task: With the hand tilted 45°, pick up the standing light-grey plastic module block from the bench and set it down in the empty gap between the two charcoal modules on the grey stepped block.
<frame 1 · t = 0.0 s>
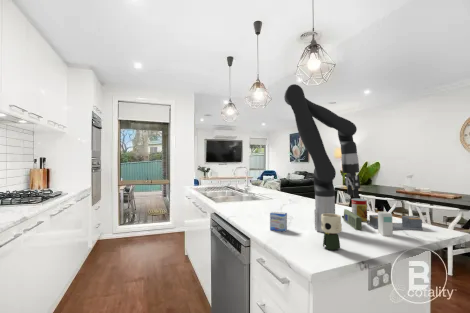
hand: (353, 196, 114), 17 cm above the counter, tool pointing down, fingers open, 8 cm apart
grey stepped block: (393, 226, 121), on the counter
medicine box: (278, 230, 117), on the counter
canned food: (359, 220, 135), on the counter
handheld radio: (350, 224, 128), on the counter
character mug: (331, 248, 92), on the counter
module: (385, 234, 109), on the counter
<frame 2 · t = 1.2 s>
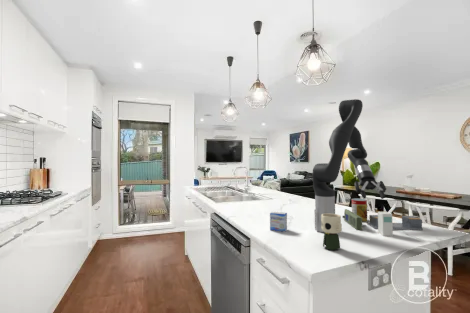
hand: (374, 197, 120), 15 cm above the counter, tool tilted 45°, fingers open, 8 cm apart
nothing on the counter moved.
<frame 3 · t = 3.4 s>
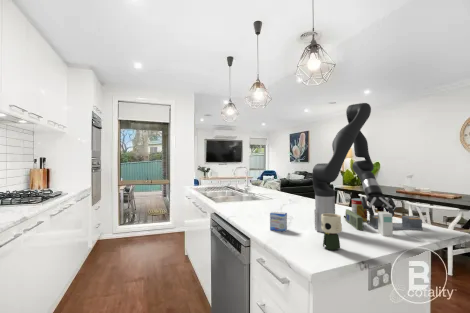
hand: (382, 215, 111), 8 cm above the counter, tool tilted 45°, fingers open, 8 cm apart
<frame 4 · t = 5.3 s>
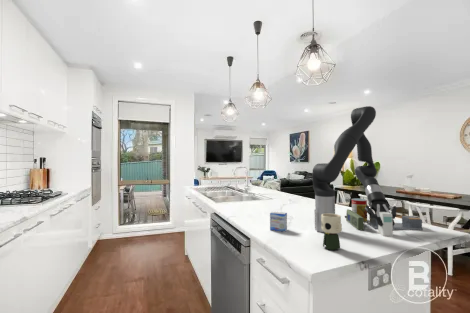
hand: (387, 225, 107), 5 cm above the counter, tool tilted 45°, fingers closed on module, 4 cm apart
module: (385, 234, 108), on the counter, touching gripper
when the fingers open (7 cm above the counter, at t = 9.9 s): module stays where it is, point 2 cm above the counter.
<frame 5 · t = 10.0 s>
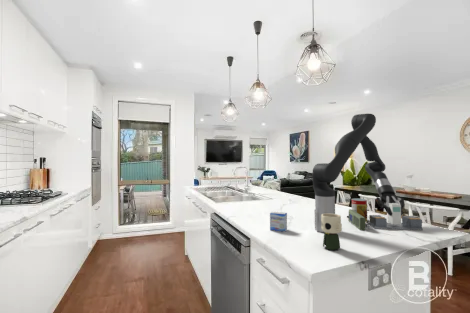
hand: (396, 214, 119), 7 cm above the counter, tool tilted 45°, fingers open, 4 cm apart
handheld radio: (354, 224, 127), on the counter
module: (394, 223, 121), point 2 cm above the counter
everything else where it was.
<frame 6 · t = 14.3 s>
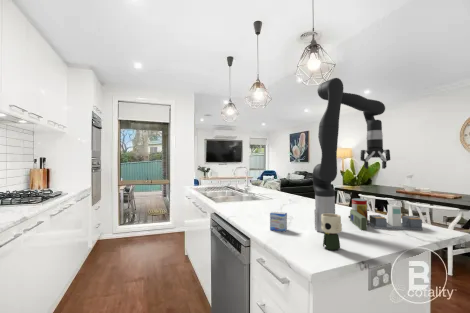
hand: (375, 168, 127), 30 cm above the counter, tool pointing down, fingers open, 8 cm apart
module: (394, 225, 121), point 1 cm above the counter, touching grey stepped block
at the end: module inside the target area on the grey stepped block (0.0 cm from its centre), point 1.0 cm above the grey stepped block's base; module tilted 0°; the gripper is holding nothing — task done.
